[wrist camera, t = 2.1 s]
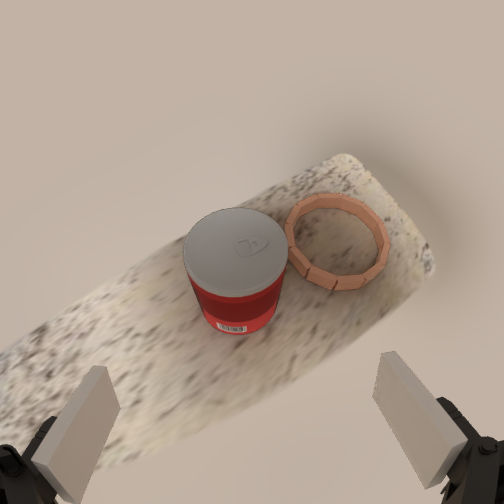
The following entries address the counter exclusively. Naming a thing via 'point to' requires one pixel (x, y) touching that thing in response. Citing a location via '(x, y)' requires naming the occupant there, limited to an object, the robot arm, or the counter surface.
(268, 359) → the counter surface
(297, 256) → the ring
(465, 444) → the robot arm
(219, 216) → the canned food
